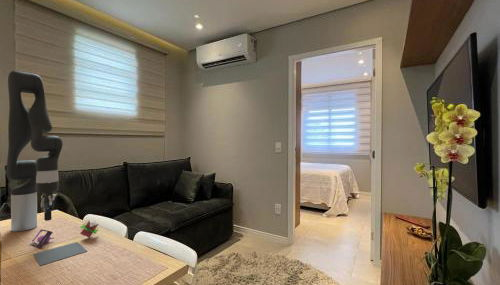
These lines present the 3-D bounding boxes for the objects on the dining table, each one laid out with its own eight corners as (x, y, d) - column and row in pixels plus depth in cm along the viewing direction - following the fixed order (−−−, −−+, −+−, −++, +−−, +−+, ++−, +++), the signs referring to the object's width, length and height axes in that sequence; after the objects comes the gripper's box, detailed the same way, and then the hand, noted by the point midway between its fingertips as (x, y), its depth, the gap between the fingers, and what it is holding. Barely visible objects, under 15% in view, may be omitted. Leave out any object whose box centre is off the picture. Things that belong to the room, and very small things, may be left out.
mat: (33, 254, 90) (33, 253, 90) (77, 242, 101) (77, 241, 101) (40, 265, 82) (40, 265, 82) (87, 251, 93) (87, 250, 93)
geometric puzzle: (77, 241, 101) (77, 223, 101) (82, 235, 108) (82, 218, 108) (96, 239, 104) (96, 221, 104) (100, 233, 110) (100, 216, 110)
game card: (38, 247, 94) (27, 244, 98) (50, 251, 98) (39, 248, 102) (50, 230, 98) (39, 228, 102) (61, 235, 102) (50, 233, 106)
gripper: (33, 180, 106) (33, 219, 106) (39, 183, 97) (39, 225, 97) (55, 178, 111) (55, 215, 111) (62, 181, 103) (62, 221, 103)
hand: (47, 220), depth 104 cm, fingers closed
